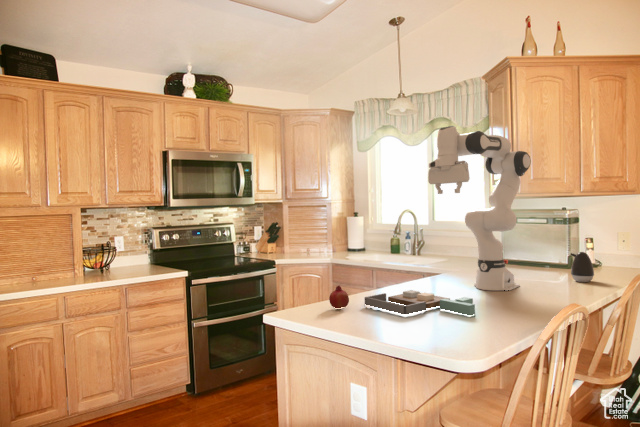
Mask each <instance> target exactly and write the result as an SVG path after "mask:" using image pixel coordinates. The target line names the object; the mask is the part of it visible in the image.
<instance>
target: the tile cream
mask: <svg viewBox="0 0 640 427" xmlns="http://www.w3.org/2000/svg"><path fill="white" fill-rule="evenodd" d="M420 293H421V294H417V299H419V300H424V301H429V300H433V299H434V296H435V293H429V292H420Z"/></svg>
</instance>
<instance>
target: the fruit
mask: <svg viewBox="0 0 640 427" xmlns="http://www.w3.org/2000/svg"><path fill="white" fill-rule="evenodd" d="M328 297H329V298H328V300H329V301H328V302H329V304H330V306H332V307H333V308H334V307H335V308H341V307H345V308H346V307H347V306H348V305H349V303H350V298H349V295H348V292H346V290H343V289H342V287H341V286H340V285H337V286H336V287H335V290H334V291H332V292H331V293H330V295H329V296H328ZM335 308H334V309H335Z"/></svg>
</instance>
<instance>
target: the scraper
mask: <svg viewBox="0 0 640 427" xmlns="http://www.w3.org/2000/svg"><path fill="white" fill-rule="evenodd" d="M473 299H474V298H471V297H468V296H467V297H466V296H464V297H460V298H456V299H455V300H454V299H450V300H449V299H441V300H440V308H441V309H445V310H450V311H454V312H458V313H462V314H467V315H473V314H475V315H476V308H475V306H476V304H475V303H474V301H473ZM440 308H439V309H440Z"/></svg>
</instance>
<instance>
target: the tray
mask: <svg viewBox="0 0 640 427" xmlns="http://www.w3.org/2000/svg"><path fill="white" fill-rule="evenodd" d="M365 304H366V305H370V306H374V307H378V308H382V309H386V310H389V311H394V312H398V313H401V314H409V313H413V312H418V311H422V310H426V302H425V301H424V302H419V303H415V304H410V305H406V306H404V305H399V304H395V303H391V302H388V301H387V293H384V292H383V293H379V294H375V295H368V296H365V297H364V305H365Z"/></svg>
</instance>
